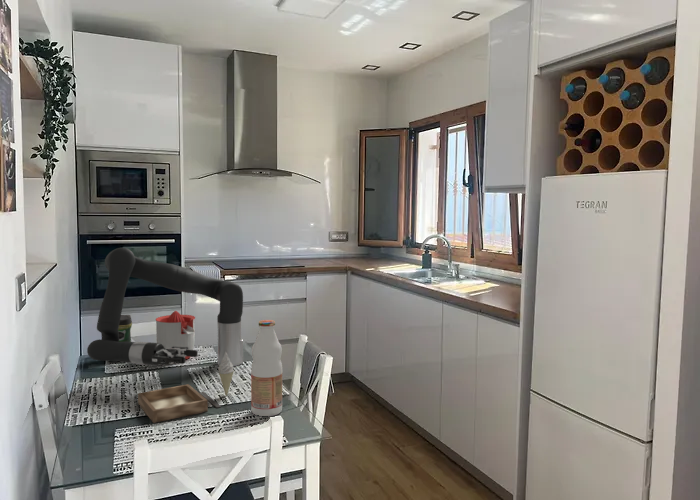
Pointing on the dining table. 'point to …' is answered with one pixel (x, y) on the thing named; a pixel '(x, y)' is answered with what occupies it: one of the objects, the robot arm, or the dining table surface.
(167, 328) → the citrus juicer
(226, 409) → the dining table surface
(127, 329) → the coffee jar
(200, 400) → the tray
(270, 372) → the fruit juice
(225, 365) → the ice cream cone
